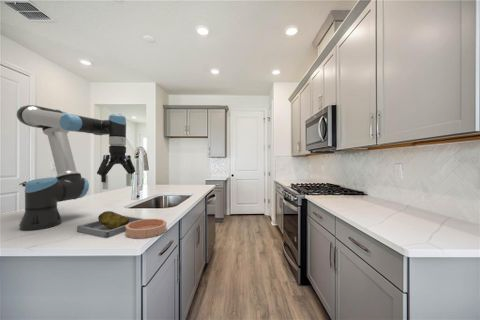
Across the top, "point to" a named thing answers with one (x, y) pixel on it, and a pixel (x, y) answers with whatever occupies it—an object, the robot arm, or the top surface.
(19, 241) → the top surface
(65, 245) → the top surface
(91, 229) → the tray
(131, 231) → the bowl
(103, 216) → the pear
